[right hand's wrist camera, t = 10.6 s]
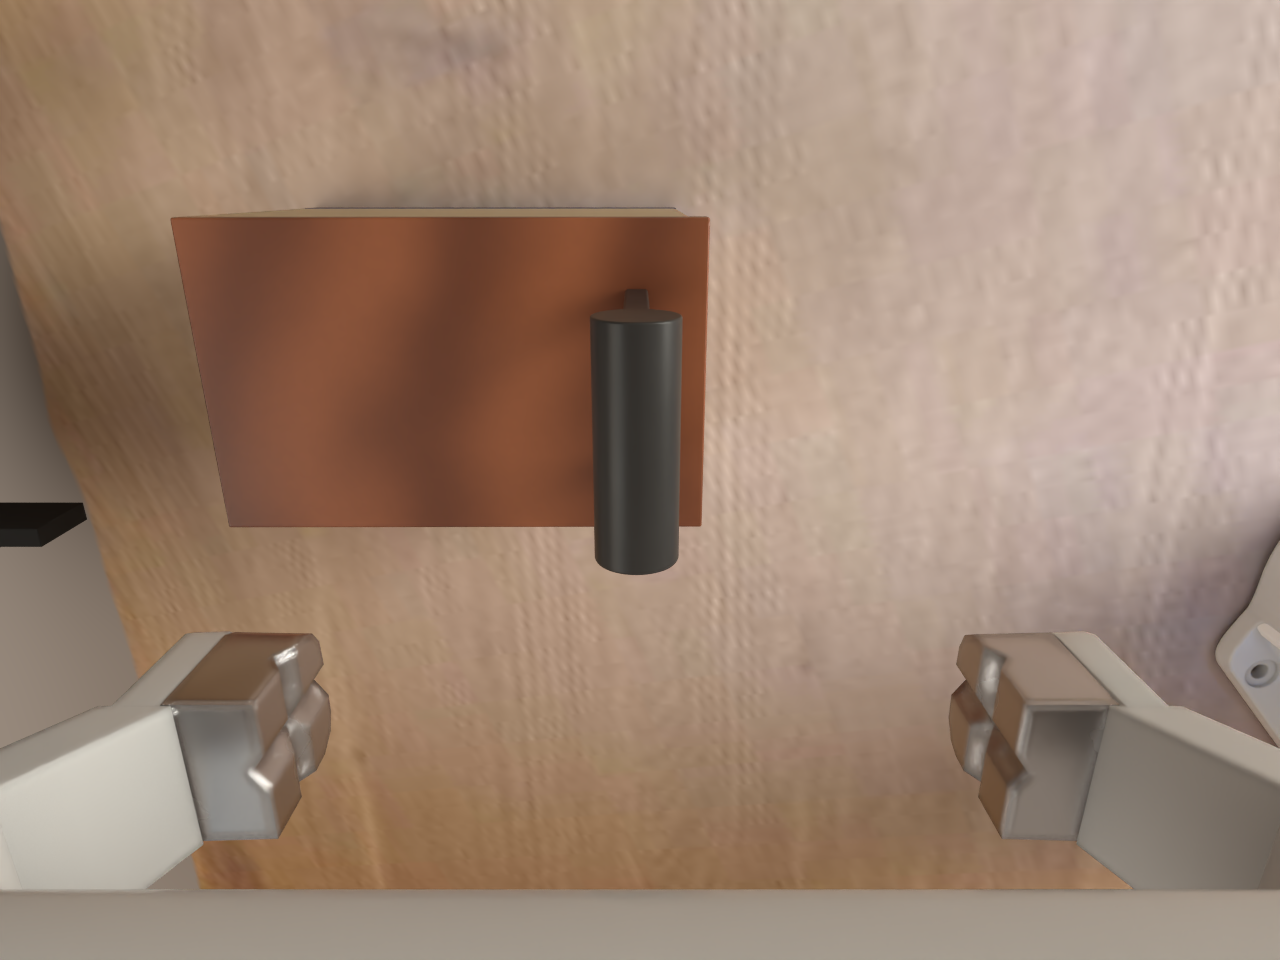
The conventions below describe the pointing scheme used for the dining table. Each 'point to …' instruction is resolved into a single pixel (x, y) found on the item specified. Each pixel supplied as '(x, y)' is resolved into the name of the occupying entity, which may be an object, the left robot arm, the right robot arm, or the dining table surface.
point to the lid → (456, 372)
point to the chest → (463, 212)
